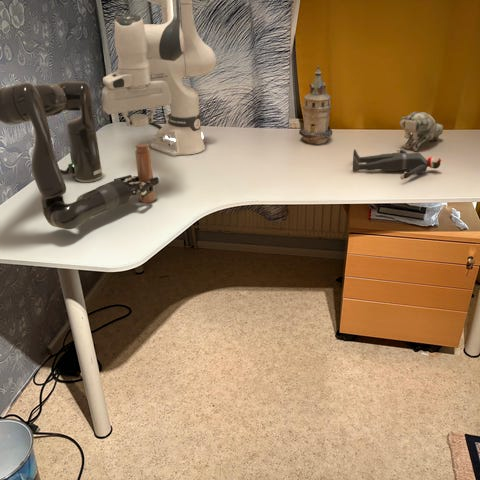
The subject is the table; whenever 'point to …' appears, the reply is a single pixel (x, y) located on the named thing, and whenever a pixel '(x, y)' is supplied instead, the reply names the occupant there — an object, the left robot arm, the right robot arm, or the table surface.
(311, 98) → the miniature building
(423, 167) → the toy
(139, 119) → the lid
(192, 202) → the table surface
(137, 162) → the tan tall cylinder
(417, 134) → the figurine
